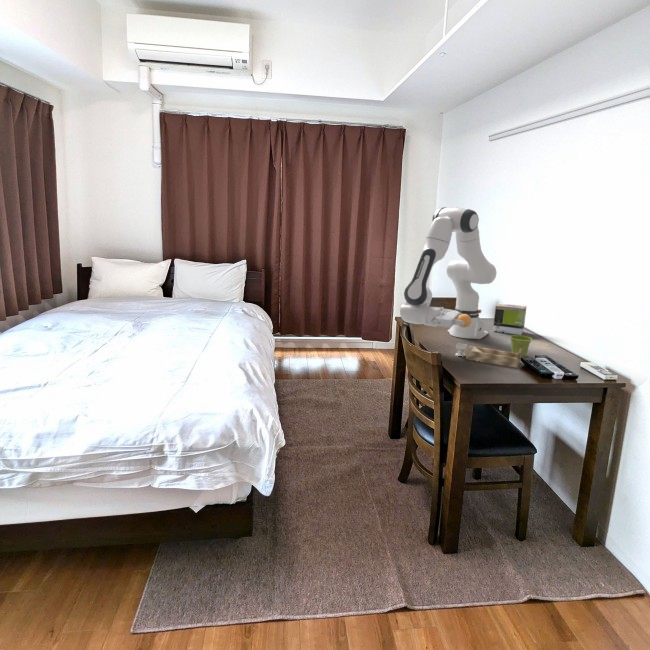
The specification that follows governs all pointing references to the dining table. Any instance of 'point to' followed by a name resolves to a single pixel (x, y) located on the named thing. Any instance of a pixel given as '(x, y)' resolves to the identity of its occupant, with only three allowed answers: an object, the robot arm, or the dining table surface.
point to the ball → (467, 320)
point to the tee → (460, 349)
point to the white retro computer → (509, 318)
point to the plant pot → (520, 344)
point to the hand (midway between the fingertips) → (466, 320)
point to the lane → (494, 356)
